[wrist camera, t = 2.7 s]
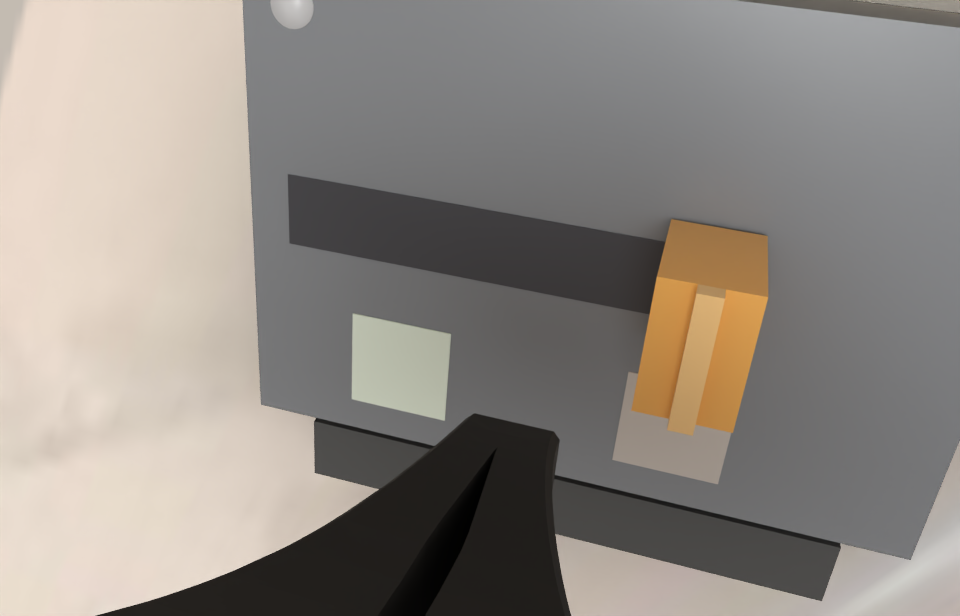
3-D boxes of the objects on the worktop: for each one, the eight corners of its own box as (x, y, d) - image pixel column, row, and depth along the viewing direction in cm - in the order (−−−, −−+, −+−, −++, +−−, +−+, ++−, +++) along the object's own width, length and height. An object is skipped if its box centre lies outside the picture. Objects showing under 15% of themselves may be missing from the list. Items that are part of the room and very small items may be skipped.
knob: (736, 358, 20) (732, 444, 17) (647, 340, 20) (628, 421, 17) (767, 235, 19) (768, 306, 16) (671, 219, 19) (654, 285, 16)
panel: (899, 507, 23) (910, 561, 21) (293, 368, 26) (260, 405, 25) (1085, 28, 17) (1121, 48, 16) (283, -68, 21) (238, -61, 19)
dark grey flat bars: (817, 553, 24) (821, 601, 23) (340, 437, 27) (314, 472, 26) (1047, -116, 16) (1077, -113, 15) (343, -180, 19) (306, -183, 18)
